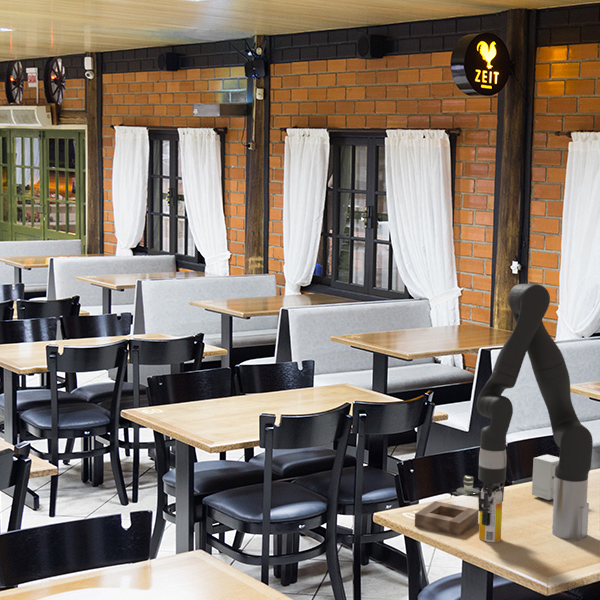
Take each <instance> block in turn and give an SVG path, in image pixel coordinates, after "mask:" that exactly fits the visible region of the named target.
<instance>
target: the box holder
mask: <svg viewBox="0 0 600 600" xmlns="http://www.w3.org/2000/svg"><path fill="white" fill-rule="evenodd" d="M479 513H480V511H479V509H476V508H473V507H466V506H463V505H461V506H460V505H458V504H457V505H456V504H452V503H447V502H442V501H436V500H435V501H433V502H431V503H430V504H428V505H427V506H425V507H423V508H422V509H420V510H419V511H417V512H415V513H414V527H415V528H422V529H426V530H430V531H435V532H439V533H443V534H450V535H452V536H453V535H454V536H458V537H459V536H461V535H463V534H464V533H466V532H467V531H469V530H470V529H472V528H473V527H475V526H477V525H478V524H479Z"/></svg>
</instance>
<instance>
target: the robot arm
mask: <svg viewBox="0 0 600 600" xmlns="http://www.w3.org/2000/svg"><path fill="white" fill-rule="evenodd" d="M550 296H551V295H550V293H549V291H548V289H547V288H546V287H545V286H543V285H542V284H538V283H519V284H516V285H514V286H512V288H511V289H510V291H509V293H508V298H507V299H508V306H509V308H510V309H509V310H510V311H511V313H512V316H513V318H514V320H515V322H516V324H515V325H514V329H513V330H512V333H510V336H509V337H508V339H507V340H506V341H505V343H504V344H503V345H502V347H501V349H500V351H499V353H498V355H497V358H496V360H495V363H494V366H493V369H492V373H491V375H490V377H489V379H488V380H487V381H486V383H485V385H484V386H483V388H482V389H481V391H480V393H478V396H477V400H476V409H477V412H478V413H479V415H481V416H482V417H485V418H488V419H491V420H490V425H488V426H484V427H483V428H481V432H480V448H479V453H478V454H479V455H478V475H477V477H478V480H479V481H480V482H482V483H483V487H482V488H483V489H482V488H481V490H479V492H478V494H477V496H478V497H477V498H478V500H477V501H478V510H479V512H480V511H481V512H482V524H483V525H486V526H489V525H490V516H491V513H490V512H491V506H492V505H493V504H494V497H493V498H492V500H491V501H488V498H489V497H491V496H492V492H495V493H494V495H495V494H496V492H497V490H498V491H500V489H501V492H502V503H503V501H504V495H505V493H504V492H505V482H506V479H507V449H506V448H507V434H508V431H509V428H510V424H511V421H512V418H513V413H514V407H513V403H512V400H511V399H509V397H506V396H504V395H502V394H503V393H504V391H505V390H507V389H508V390H509V389H513V388H514V387H515V385H516V384H517V379H518V377H519V375H520V372H521V368H522V365H523V363H524V359H525V357H526V355H528V359H529V361H530V365H531V369H532V372H533V375H534V377H535V381H536V384H537V387H538V389H539V392H540V394H541V398H542V399H543V401H544V404H545V406H546V409H547V412H548V417H549V421H550V427H551V430H552V436H553V440H554V442H555V444H556V446H557V447H558V448H559V464H558V465H557V466H556V467H555V480H554V499H553V504H552V506H553V508H552V526H551V529H552V532H551V533H552V535H553V536H555V537H557V538H559V539H565V540H571V541H574V540H576V541H577V540H578V541H582V540H583V539H585V538H586V537H587V536H588V530H589V529H588V526H589V512H590V511H589V510H590V509H589V507H590V504H589V502H588V487H589V486H588V484H589V483H588V482H589V474H590V471H591V468H592V460H593V459H592V457H593V448H594V447H593V446H594V444H593V443H594V442H593V435H592V433H591V431H590V430H589V429H588V428H587V427H586V426H584V425H583V424H581V422H580V420H579V417H578V415H577V413H576V411H575V407H574V406H573V401H572V397H571V380H570V374H569V370H568V367H567V364H566V361H565V360H566V359H565V358H564V355H563V353H562V351H561V349H560V348H559V347H558V345H557V343H556V342H555V341H554V339H553V338H552V336H551V335H550V333H549V332H548V330H547V328H546V327H545V325H544V321H543V319H544V317H545V315H546V313H547V311H548V309H549V307H550V303H551V297H550ZM488 504H489V507H488Z"/></svg>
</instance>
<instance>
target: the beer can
mask: <svg viewBox="0 0 600 600" xmlns="http://www.w3.org/2000/svg"><path fill="white" fill-rule="evenodd" d="M482 489H483V487H482V488H481V490H482ZM494 493H495V492H492V496H491V497H489V498H488V501H491V500H492V498H493V497H494V504H493V505H492V506H491V512H490V513H491V516H490V525H489V526H486V525H483V524H482V512H481V511H479V521H478V524H479V525H478V526H479V527H478V538H479V539H480V541H483V542H485V541H486V543H498V542H500V541H501V539H502V518H503V517H502V516H503V515H502V514H503V502H502V492H501V489H500V491H498V490H497V492H496V494H495V495H494ZM488 507H489V504H488Z"/></svg>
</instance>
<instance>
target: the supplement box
mask: <svg viewBox="0 0 600 600" xmlns="http://www.w3.org/2000/svg"><path fill="white" fill-rule="evenodd" d="M532 462H533V463H532V464H533V465H532V481H531V482H532V484H531V485H532V486H531V495H532V496H535V497H539V498H542V499H545V500H547V501H550V500H554V480H555V467H556V466H557V465H558V464H559V457H558V456H554V455H551V454H543V455H540V456H537V457H533V461H532Z"/></svg>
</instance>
